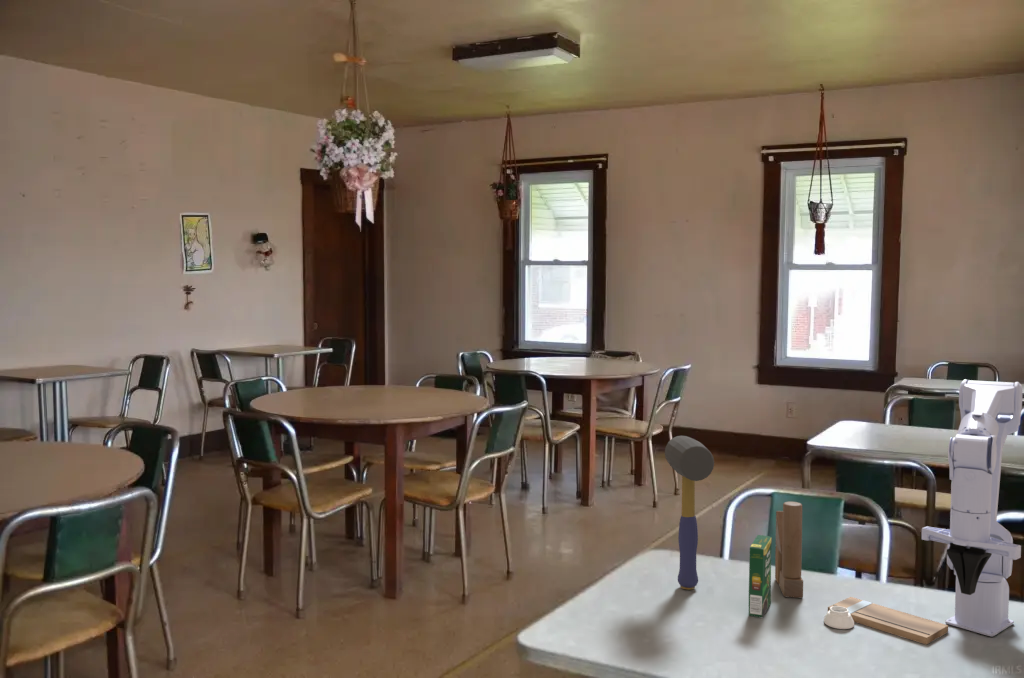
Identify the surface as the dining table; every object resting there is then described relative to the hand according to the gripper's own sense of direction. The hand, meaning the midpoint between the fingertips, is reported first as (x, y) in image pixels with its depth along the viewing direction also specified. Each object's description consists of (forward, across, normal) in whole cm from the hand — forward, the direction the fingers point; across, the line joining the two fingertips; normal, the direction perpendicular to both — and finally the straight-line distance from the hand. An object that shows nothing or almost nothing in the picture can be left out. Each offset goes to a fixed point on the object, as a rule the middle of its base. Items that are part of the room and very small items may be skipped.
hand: (967, 592), depth 140 cm
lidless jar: (+11, -20, -4) cm, 23 cm away
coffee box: (+11, -33, -8) cm, 36 cm away
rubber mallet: (+10, -49, -10) cm, 51 cm away
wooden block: (+10, -36, +6) cm, 38 cm away
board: (+10, -15, +4) cm, 19 cm away
